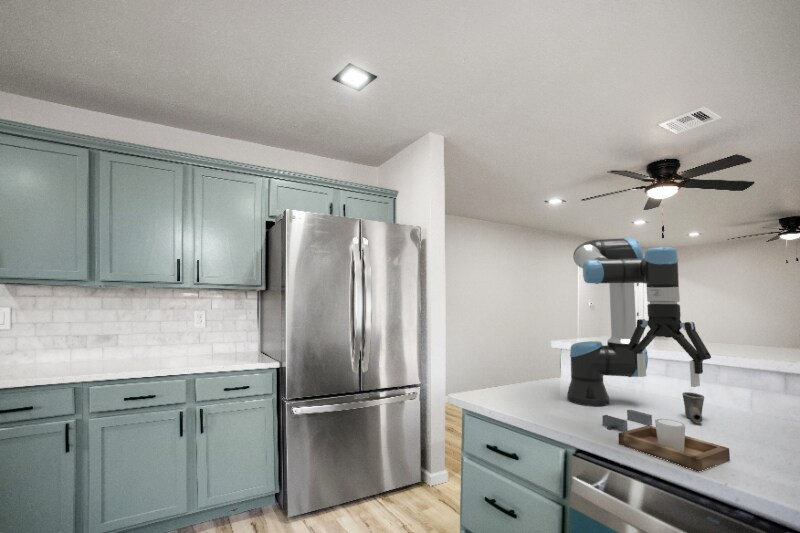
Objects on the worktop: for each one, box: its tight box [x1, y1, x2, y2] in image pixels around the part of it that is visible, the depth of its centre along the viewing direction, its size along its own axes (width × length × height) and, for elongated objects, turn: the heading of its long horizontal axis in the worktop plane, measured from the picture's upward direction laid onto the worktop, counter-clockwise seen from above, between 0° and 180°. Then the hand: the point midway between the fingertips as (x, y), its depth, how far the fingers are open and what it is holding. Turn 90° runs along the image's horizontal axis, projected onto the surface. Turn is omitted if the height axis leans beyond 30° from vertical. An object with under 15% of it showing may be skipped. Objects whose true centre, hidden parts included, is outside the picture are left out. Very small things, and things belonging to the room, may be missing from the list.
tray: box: [617, 425, 731, 472], centre depth 104 cm, size 20×15×3 cm
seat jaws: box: [601, 409, 653, 432], centre depth 126 cm, size 7×19×3 cm, turn 117°
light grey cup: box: [654, 418, 686, 452], centre depth 105 cm, size 7×7×7 cm
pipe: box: [682, 391, 705, 424], centre depth 131 cm, size 6×13×8 cm, turn 149°
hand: (667, 381), depth 106 cm, fingers open, 13 cm apart
